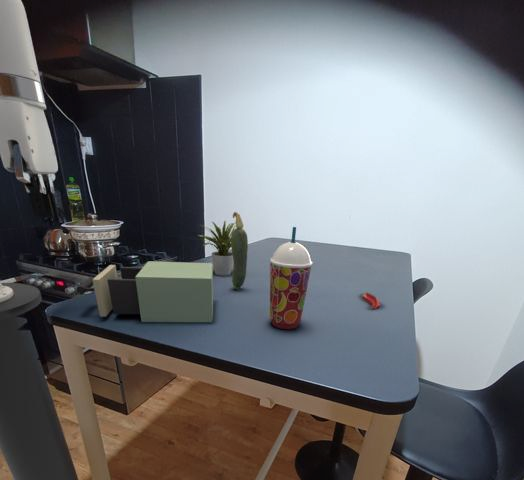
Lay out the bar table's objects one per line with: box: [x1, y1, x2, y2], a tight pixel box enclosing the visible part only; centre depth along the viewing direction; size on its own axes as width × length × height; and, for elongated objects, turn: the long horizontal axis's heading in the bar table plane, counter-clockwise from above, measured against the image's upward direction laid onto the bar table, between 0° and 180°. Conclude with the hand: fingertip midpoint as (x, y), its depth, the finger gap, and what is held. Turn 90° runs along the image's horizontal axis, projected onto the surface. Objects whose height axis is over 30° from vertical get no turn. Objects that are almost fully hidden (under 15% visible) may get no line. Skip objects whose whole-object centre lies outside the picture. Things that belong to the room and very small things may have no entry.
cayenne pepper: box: [362, 292, 381, 310], centre depth 85 cm, size 12×5×2 cm, turn 163°
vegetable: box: [230, 211, 249, 291], centre depth 83 cm, size 4×4×20 cm
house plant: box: [197, 220, 236, 277], centre depth 99 cm, size 14×14×16 cm
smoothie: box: [269, 226, 313, 330], centre depth 64 cm, size 8×8×20 cm
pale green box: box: [135, 260, 214, 323], centre depth 70 cm, size 15×13×10 cm
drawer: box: [75, 264, 144, 318], centre depth 69 cm, size 18×11×8 cm, turn 97°
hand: (47, 215), depth 60 cm, fingers closed
